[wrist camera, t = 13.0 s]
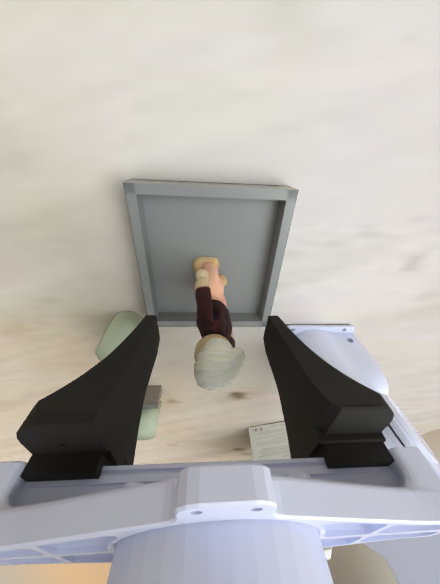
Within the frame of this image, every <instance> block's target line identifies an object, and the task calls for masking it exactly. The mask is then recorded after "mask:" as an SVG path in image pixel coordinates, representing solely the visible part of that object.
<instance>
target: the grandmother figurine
mask: <svg viewBox="0 0 440 584" xmlns="http://www.w3.org/2000/svg"><path fill="white" fill-rule="evenodd" d="M192 266H193V269H194V271H195V272H196V274H195V276H196V279H197V281H196V282H195V298H196V303H197V320H196V324H197V327H198V329H199V331H200V333H201V336H202V339H201V340H200V341H199V342H198V343H197V345H196V348H195V353H194V357H195V361H196V362H195V363H194V375H195V379H196V381H197V384H198V386H200V387H201V388H204V389H219V388H222V387H224V386H226V385H227V384H228V383H230V382H231V381H232V380H233V379H234V378H235V377H236V376H237V374H238V373H239V370H240V368H241V367H242V365H243V363H244V361H245V358H246V357H245V354H244V351H243V350H242V349H241V348H235V340H234V335H233V333H232V323H231V319H230V314H229V310H228V309H227V305H226V300H225V297H224V286H226V284H227V279H226V277H225V276H224V275H222V274H218V268H219V261H218V259H217V258H215V257H197V258H195V259H194V260H193V263H192Z"/></svg>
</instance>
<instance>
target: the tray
mask: <svg viewBox="0 0 440 584" xmlns="http://www.w3.org/2000/svg"><path fill="white" fill-rule="evenodd" d="M123 184H124V189H125V195H126V200H127V206H128V211H129V217H130V222H131V228H132V233H133V239H134V244H135V250H136V255H137V261H138V266H139V272H140V277H141V283H142V288H143V294H144V299H145V305H146V310H147V315H156V317H157V323H158V327H197V324H196V320H197V303H196V298H195V282H196V281H197V279H196V276H195V274H196V272H195V271H194V269H193V266H192V263H193V260H194V259H195V258H197V257H215V258H217V259H218V261H219V268H218V274H222V275H224V276H225V277H226V279H227V284H226V286H224V297H225V300H226V305H227V309H228V310H229V314H230V319H231V323H232V327H266V324H267V319H268V316H270V314H271V310H272V305H273V301H274V296H275V292H276V288H277V283H278V279H279V274H280V270H281V265H282V261H283V257H284V252H285V248H286V243H287V239H288V234H289V230H290V226H291V221H292V217H293V212H294V208H295V203H296V199H297V194H298V190H297V189H295V188H292V187H290V186H277V185H255V184H232V183H210V182H188V181H166V180H144V179H131V180H128V181H126V182H123Z"/></svg>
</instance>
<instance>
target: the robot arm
mask: <svg viewBox="0 0 440 584" xmlns="http://www.w3.org/2000/svg"><path fill="white" fill-rule="evenodd" d="M293 328H294V329H293ZM354 330H355V327H354V326H353V325H288V326H286V324H285V323H284V322H283V321H282V320H281V319H280V318H279V317H278V316H268V319H267V324H266V329H265V333H264V338H263V339H264V345H265V350H266V354H267V357H268V360H269V363H270V366H271V369H272V372H273V375H274V378H275V381H276V385H277V388H278V392H279V396H280V401H281V406H282V410H283V415H284V420H285V426H286V431H287V437H288V443H289V449H290V456H291V459H272V460H247V461H222V462H197V463H172V464H147V465H133V462H134V455H135V449H136V442H137V436H138V430H139V424H140V419H141V414H142V408H143V403H144V398H145V393H146V389H147V385H148V382H149V379H150V376H151V372H152V369H153V366H154V363H155V359H156V356H157V352H158V347H159V341H160V336H159V330H158V323H157V317H156V315H146V316H145V317H144V318H143V319H142V321H141V322H140V323H139V324H138V325H137V326H136V328H135V329H134V330H133V331H132V332H131V333H130V334H129V335H128V336H127V337H126V339H125V340H124V341H123V342H122V343H121V344H120V345H119V346H118V347H116V348H115V349H114V350H113V351H112V352H111V353H110V354H109V355H108V356H107V357H105V358H104V359H103V360H102V361H101V362H99V363H98V364H97V365H95V366H94V367H93V368H91V369H90V370H89V371H87V372H86V373H85V374H83V375H82V376H80V377H79V378H77V379H76V380H74V381H72V382H71V383H69V384H68V385H66V386H64V387H63V388H61V389H59V390H57V391H56V392H54V393H52V394H50V395H49V396H47V397H45V398H43V399H41V400H39V401H38V402H37V404H36V405H35V406H34V408H33V409H32V410H31V412H30V413H29V415H28V416H27V418H26V419H25V421H24V422H23V424H22V425H21V427H20V428H19V430H18V431H17V439H18V440H19V442H20V443H21V444H22V445H23V446H24V447H25V448H26V449H27V450H28V451H29V452H31V453H32V454H33V455H32V456H31V458H30V460H29V462H28V463H26V462H21V461H10V462H0V565H21V564H61V563H62V564H63V563H64V564H65V563H112V564H111V569H110V573H109V577H108V581H107V584H333V581H332V578H331V574H330V571H329V567H328V564H327V560H326V557H325V553H324V550H323V548H325V547H333V546H341V545H350V544H358V543H363V544H365V545H367V546H368V547H370V548H371V549H373V550H374V551H376V552H377V553H379V554H380V555H382V556H383V557H384V558H385V559H386V561H387V562H388V565H389V567H390V568H391V570H392V572H393V574H394V576H395V578H396V580H397V582H398V584H440V464H439V462H438V460H437V459H436V457H435V455H434V454H433V453H432V451H431V449H430V448H429V447H428V445H427V444H426V442H425V441H424V440H423V439H422V437H421V436H420V434H419V433H418V432H417V430H416V429H415V428H414V426H413V425H412V424H411V423H410V421H409V420H408V419H407V417H406V416H405V415H404V414H403V412H402V411H401V410H400V409H399V408H398V406H397V405H396V404H395V403H394V402H393V401H392V399H391V398H390V397H389V396H388V393H389V389H388V383H387V380H386V377H385V375H384V372H383V371H382V369H381V368H380V366H379V365H378V364H377V362H376V361H375V360H374V359H373V357H372V356H371V355H370V354H369V352H368V351H367V350H366V349H365V347H364V346H363V345H362V344H361V342H360V341H359V340H358V339H357V337H356V336H355V335H354V334H353V332H354Z"/></svg>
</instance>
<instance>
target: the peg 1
mask: <svg viewBox="0 0 440 584" xmlns="http://www.w3.org/2000/svg"><path fill="white" fill-rule="evenodd" d="M160 407H161V400H160V403H159V408H158V409H142V414H141V419H140V424H139V430H138V436H137V440H149V439H152V438H153V437H154V436H155V434H156V428H157V423H158V417H159V412H160Z"/></svg>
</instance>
